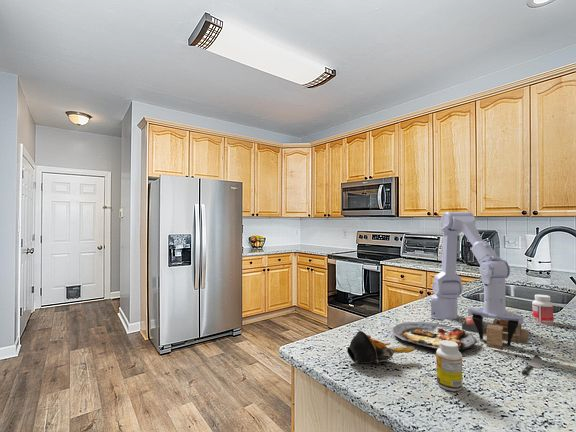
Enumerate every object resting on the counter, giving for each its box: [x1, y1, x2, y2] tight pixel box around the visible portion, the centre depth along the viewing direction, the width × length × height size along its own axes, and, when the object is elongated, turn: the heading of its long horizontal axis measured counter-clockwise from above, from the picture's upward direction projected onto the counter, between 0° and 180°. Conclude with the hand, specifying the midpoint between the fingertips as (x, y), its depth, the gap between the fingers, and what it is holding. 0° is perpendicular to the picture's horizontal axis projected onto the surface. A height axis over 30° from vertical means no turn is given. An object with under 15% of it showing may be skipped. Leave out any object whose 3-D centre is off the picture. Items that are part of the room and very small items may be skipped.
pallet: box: [483, 318, 530, 345], centre depth 107 cm, size 12×16×3 cm
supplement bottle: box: [435, 340, 463, 392], centre depth 75 cm, size 6×6×10 cm
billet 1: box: [486, 323, 504, 350], centre depth 98 cm, size 4×4×6 cm
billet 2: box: [499, 310, 515, 326], centre depth 111 cm, size 4×4×6 cm
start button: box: [465, 316, 476, 326], centre depth 111 cm, size 4×4×3 cm
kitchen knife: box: [521, 354, 543, 376], centre depth 86 cm, size 19×1×3 cm
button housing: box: [461, 318, 485, 333], centre depth 111 cm, size 6×6×3 cm
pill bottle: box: [531, 293, 555, 326], centre depth 118 cm, size 6×6×11 cm
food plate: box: [391, 321, 477, 350], centre depth 104 cm, size 25×23×4 cm
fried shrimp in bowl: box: [346, 330, 416, 365], centre depth 89 cm, size 9×11×18 cm
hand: (494, 341), depth 98 cm, fingers open, 7 cm apart
